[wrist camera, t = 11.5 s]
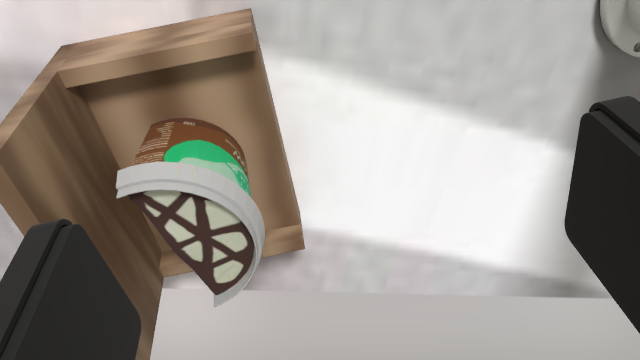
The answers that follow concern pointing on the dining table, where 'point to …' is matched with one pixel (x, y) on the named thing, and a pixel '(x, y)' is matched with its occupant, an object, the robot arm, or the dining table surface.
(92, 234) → the low wooden shelf
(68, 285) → the robot arm
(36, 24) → the dining table surface
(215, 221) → the food container
